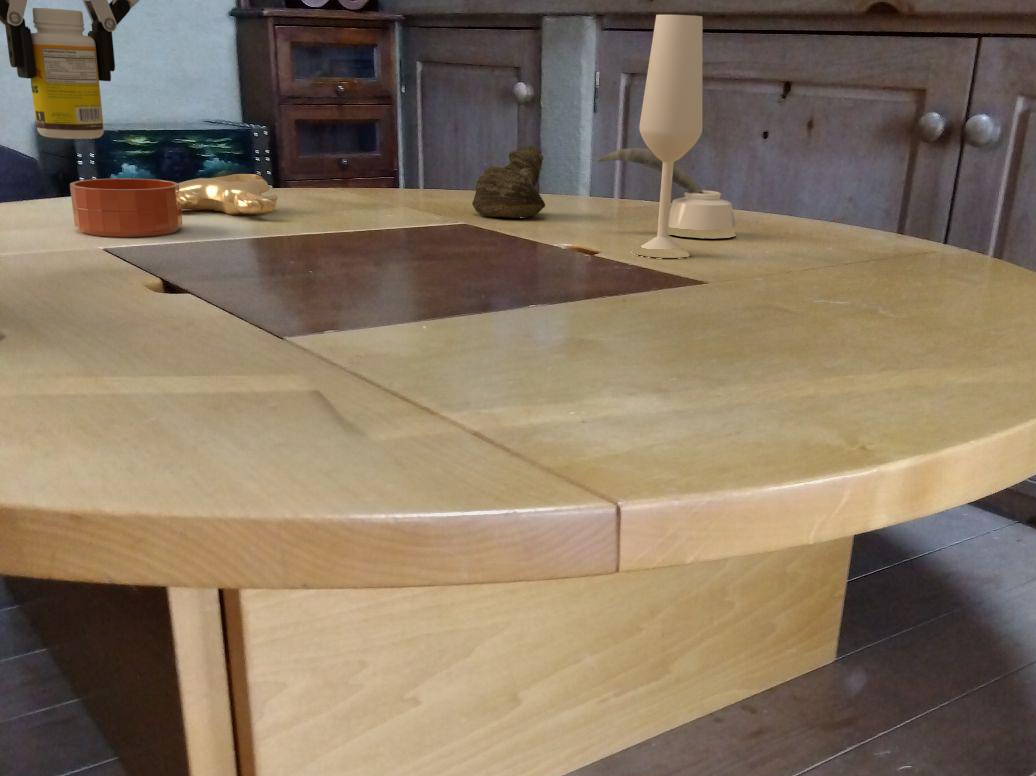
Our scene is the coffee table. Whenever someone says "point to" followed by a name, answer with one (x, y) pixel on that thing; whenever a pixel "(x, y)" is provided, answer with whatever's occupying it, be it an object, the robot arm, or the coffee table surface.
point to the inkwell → (697, 204)
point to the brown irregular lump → (511, 187)
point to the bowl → (126, 207)
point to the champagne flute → (672, 104)
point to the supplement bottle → (65, 76)
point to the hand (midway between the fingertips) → (64, 76)
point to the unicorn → (227, 194)
